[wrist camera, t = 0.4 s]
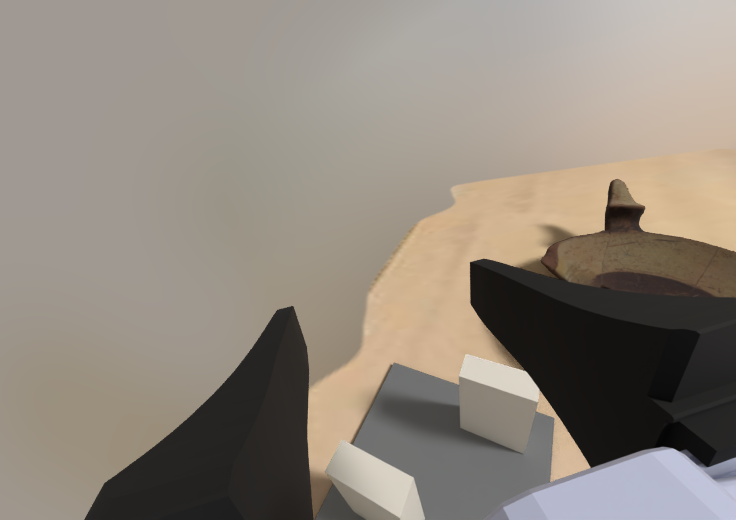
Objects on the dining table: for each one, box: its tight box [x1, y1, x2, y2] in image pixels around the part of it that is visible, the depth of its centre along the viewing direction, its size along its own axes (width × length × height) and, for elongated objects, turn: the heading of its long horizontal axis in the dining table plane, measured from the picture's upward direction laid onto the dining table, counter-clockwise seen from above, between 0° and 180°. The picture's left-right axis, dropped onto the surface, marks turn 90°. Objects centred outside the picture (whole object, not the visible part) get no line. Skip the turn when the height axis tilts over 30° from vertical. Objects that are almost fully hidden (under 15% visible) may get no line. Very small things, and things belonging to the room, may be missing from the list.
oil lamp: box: [541, 179, 736, 297], centre depth 31 cm, size 22×30×8 cm
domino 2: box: [459, 354, 539, 454], centre depth 23 cm, size 2×5×8 cm, turn 61°
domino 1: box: [325, 440, 425, 520], centre depth 20 cm, size 2×5×8 cm, turn 61°
